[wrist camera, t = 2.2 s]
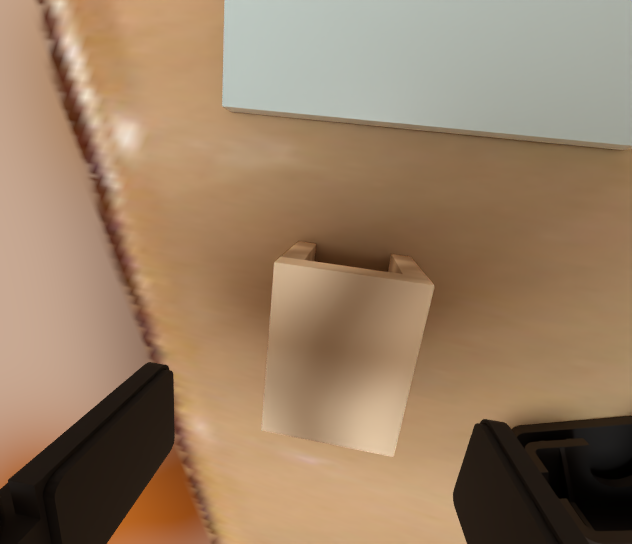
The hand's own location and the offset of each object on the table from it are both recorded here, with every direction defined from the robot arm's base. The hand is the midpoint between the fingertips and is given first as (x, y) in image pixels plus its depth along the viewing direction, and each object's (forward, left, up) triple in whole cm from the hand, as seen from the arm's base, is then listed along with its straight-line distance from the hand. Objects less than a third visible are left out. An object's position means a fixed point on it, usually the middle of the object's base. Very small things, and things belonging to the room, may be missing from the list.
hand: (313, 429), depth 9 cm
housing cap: (-1, 0, -8) cm, 8 cm away
